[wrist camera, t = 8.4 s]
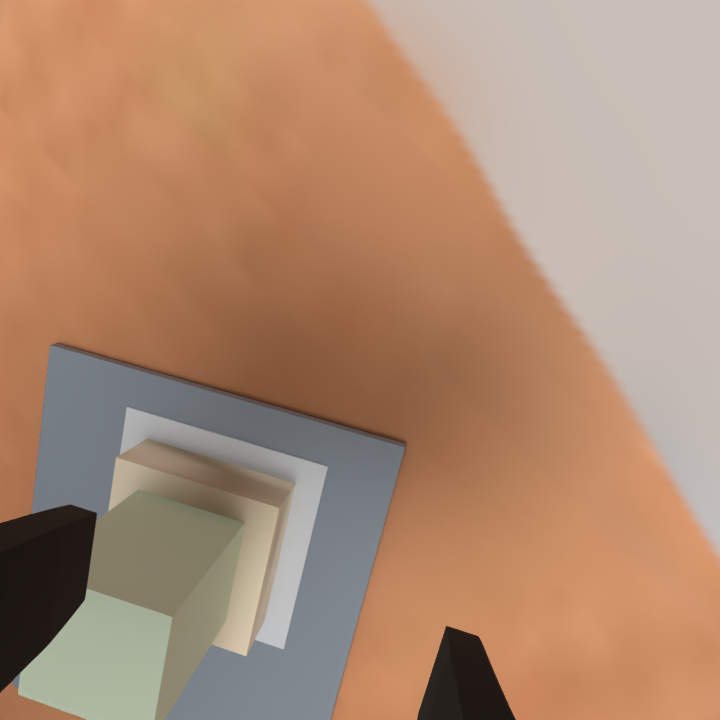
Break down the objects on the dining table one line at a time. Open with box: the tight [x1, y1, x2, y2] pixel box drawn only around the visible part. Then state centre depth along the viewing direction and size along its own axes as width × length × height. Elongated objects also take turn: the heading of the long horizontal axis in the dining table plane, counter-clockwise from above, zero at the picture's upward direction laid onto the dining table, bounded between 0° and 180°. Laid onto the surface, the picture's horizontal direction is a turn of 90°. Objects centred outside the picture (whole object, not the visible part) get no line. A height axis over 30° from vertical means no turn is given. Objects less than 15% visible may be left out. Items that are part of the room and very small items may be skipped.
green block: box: [18, 490, 245, 720], centre depth 17 cm, size 4×4×5 cm
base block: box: [108, 439, 296, 656], centre depth 20 cm, size 6×6×2 cm
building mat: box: [13, 343, 406, 720], centre depth 22 cm, size 14×16×1 cm
